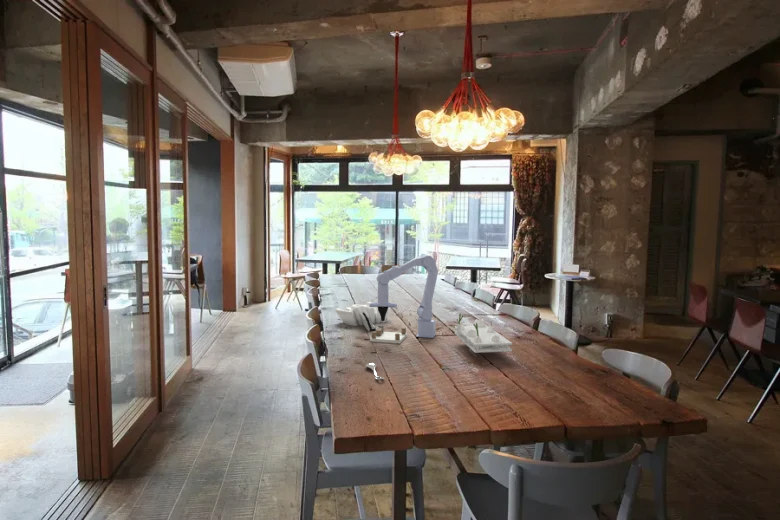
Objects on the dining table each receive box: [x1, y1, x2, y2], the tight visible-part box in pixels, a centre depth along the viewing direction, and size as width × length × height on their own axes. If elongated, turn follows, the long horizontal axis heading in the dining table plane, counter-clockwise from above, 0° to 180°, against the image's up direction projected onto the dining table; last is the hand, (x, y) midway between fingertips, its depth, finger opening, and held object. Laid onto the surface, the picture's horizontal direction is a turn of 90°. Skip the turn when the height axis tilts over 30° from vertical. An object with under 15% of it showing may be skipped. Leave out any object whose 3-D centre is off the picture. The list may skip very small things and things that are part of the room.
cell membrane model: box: [454, 313, 513, 357], centre depth 225 cm, size 35×21×17 cm, turn 7°
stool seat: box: [369, 327, 408, 344], centre depth 250 cm, size 16×16×4 cm
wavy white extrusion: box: [334, 301, 391, 327], centre depth 290 cm, size 35×16×10 cm, turn 117°
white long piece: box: [365, 362, 385, 380], centre depth 193 cm, size 20×4×5 cm
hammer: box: [375, 325, 385, 335], centre depth 254 cm, size 9×3×3 cm, turn 170°
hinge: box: [359, 312, 377, 332], centre depth 274 cm, size 17×5×10 cm, turn 14°
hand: (383, 320), depth 250 cm, fingers closed
